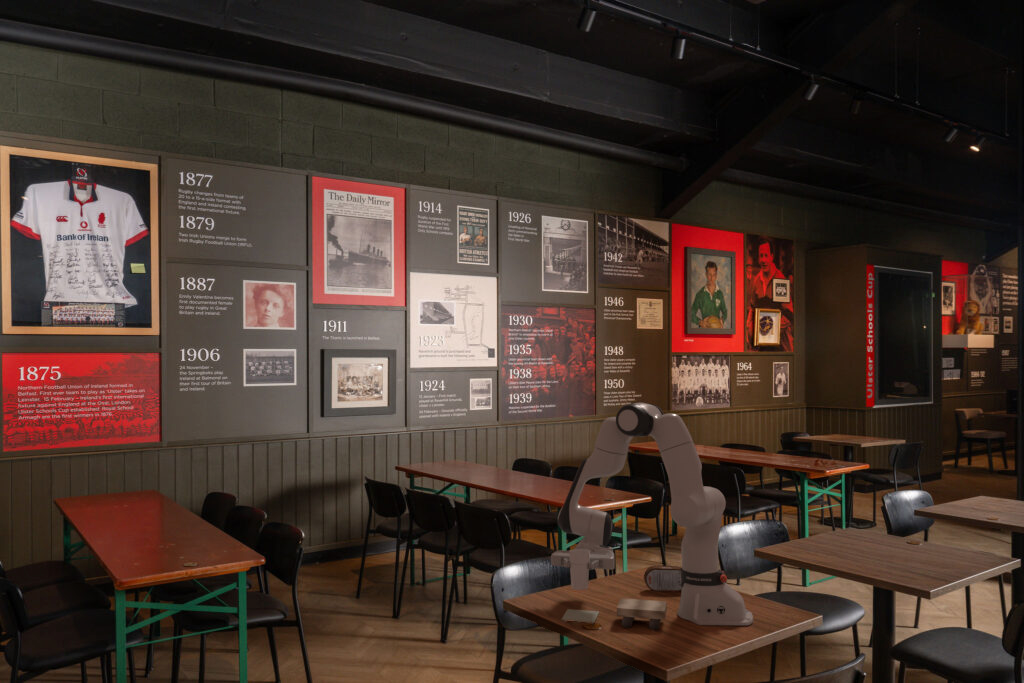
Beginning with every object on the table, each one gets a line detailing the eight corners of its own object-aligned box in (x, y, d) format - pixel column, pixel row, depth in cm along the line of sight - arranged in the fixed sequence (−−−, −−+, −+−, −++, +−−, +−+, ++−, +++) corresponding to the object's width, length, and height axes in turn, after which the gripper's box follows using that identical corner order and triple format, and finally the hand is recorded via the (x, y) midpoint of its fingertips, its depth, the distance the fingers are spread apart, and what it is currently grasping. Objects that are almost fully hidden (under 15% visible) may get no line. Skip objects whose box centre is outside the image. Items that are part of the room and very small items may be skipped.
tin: (687, 590, 260) (687, 565, 260) (689, 592, 257) (688, 567, 257) (644, 589, 261) (643, 565, 262) (644, 592, 258) (644, 567, 259)
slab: (667, 618, 229) (666, 600, 230) (664, 631, 218) (664, 612, 218) (621, 615, 233) (621, 597, 233) (616, 627, 222) (616, 609, 222)
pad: (599, 613, 235) (599, 611, 235) (594, 623, 225) (594, 621, 225) (567, 611, 237) (567, 609, 238) (561, 621, 228) (561, 619, 228)
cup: (579, 591, 227) (578, 555, 228) (564, 587, 233) (564, 551, 233) (594, 587, 231) (594, 552, 232) (580, 583, 237) (579, 548, 237)
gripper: (555, 544, 248) (546, 553, 234) (617, 547, 242) (611, 557, 229) (555, 563, 247) (546, 574, 234) (617, 567, 242) (611, 578, 229)
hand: (579, 566), depth 231 cm, fingers closed on cup, 6 cm apart
